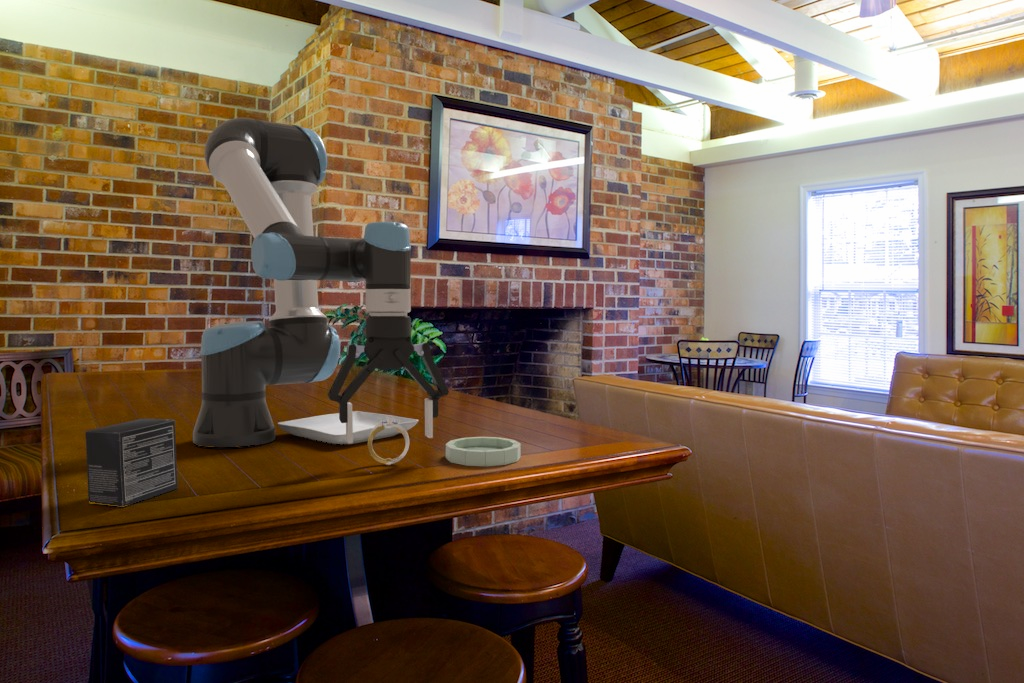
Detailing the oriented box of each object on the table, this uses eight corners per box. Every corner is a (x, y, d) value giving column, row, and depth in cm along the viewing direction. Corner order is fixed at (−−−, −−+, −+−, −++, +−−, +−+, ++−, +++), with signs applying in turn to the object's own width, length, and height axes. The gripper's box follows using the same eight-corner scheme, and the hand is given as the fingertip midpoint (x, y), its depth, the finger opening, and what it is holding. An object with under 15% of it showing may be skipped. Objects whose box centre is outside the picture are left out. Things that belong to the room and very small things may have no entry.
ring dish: (458, 468, 122) (458, 453, 122) (438, 452, 134) (438, 439, 134) (530, 463, 126) (530, 448, 126) (505, 448, 139) (505, 435, 138)
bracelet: (410, 462, 126) (410, 416, 126) (408, 466, 123) (408, 419, 122) (369, 462, 126) (369, 416, 125) (366, 466, 123) (366, 420, 122)
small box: (144, 485, 110) (142, 416, 109) (179, 489, 108) (178, 419, 107) (84, 504, 100) (82, 428, 99) (123, 508, 98) (120, 431, 97)
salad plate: (274, 437, 149) (274, 420, 149) (357, 423, 165) (357, 408, 165) (337, 452, 136) (337, 434, 135) (421, 435, 152) (421, 419, 152)
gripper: (314, 315, 115) (316, 448, 116) (465, 314, 124) (466, 438, 125) (310, 315, 122) (312, 440, 123) (453, 314, 131) (454, 431, 132)
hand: (389, 439), depth 124 cm, fingers open, 13 cm apart
